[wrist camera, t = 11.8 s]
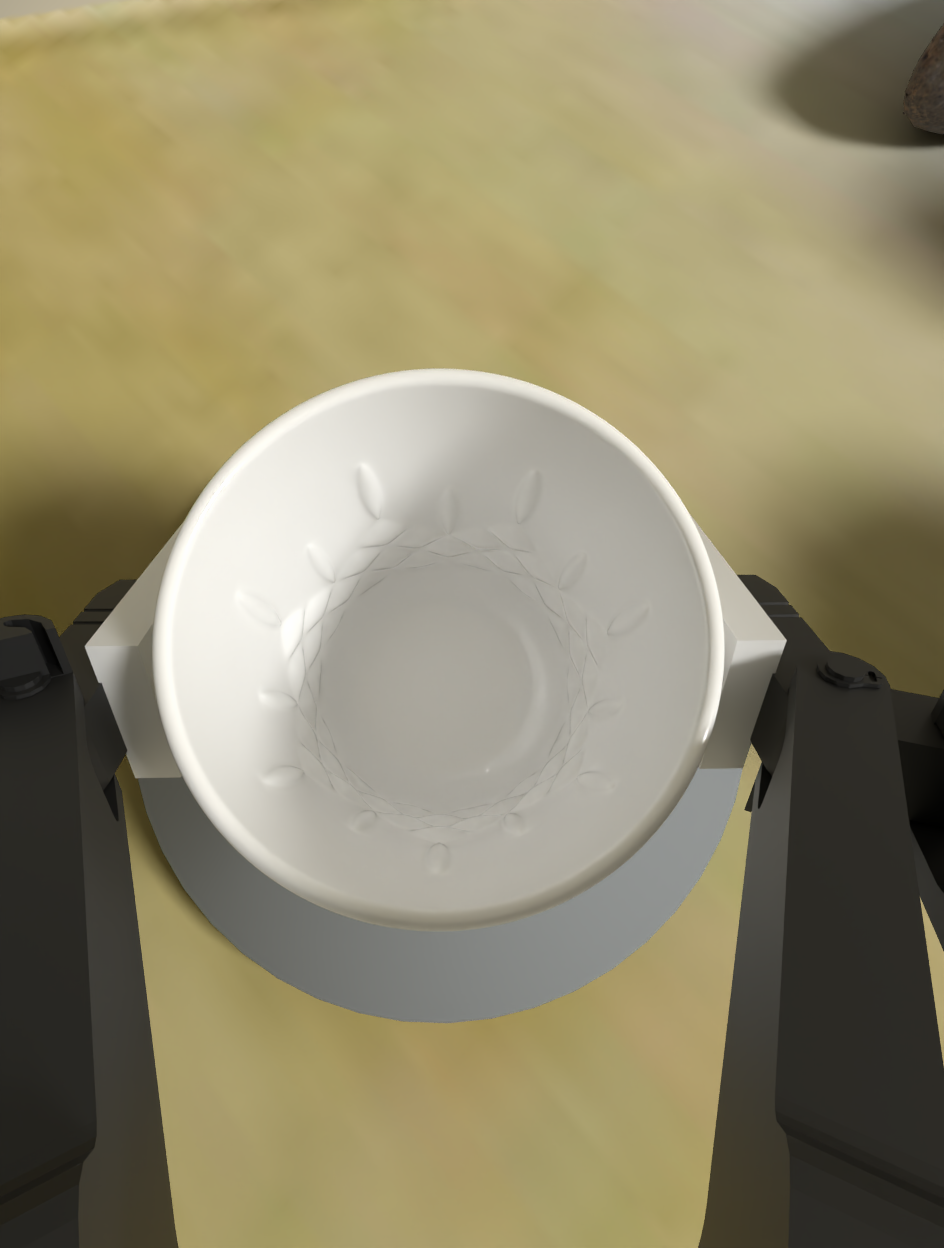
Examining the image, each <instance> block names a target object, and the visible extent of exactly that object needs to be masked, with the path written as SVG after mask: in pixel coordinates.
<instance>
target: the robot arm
mask: <svg viewBox="0 0 944 1248" xmlns="http://www.w3.org/2000/svg"><path fill="white" fill-rule="evenodd" d="M690 516H691V515H690ZM691 518H692V516H691ZM692 520H693V522H694V524H695V526H696V528H697V530H698V532H699V534H700V536H701V539H702V541H703V543H704V546H705V548H706V551H707V554H708V556H709V559H710V562H711V565H712V569H713V572H714V575H715V579H716V583H717V587H718V592H719V597H720V602H721V608H722V616H723V625H724V644H725V654H724V673H723V683H722V690H721V696H720V702H719V707H718V711H717V715H716V719H715V723H714V727H713V730H712V733H711V736H710V739H709V742H708V745H707V748H706V750H705V753H704V755H703V758H702V760H701V762H700V764H699V768H700V769H725V768H743V766H744V763H745V760H746V757H747V754H748V751H749V748H750V745H751V743H752V744H753V746H754V748H755V750H756V751H757V753H758V755H759V757H760V759H761V760H762V763H761V766H760V769H759V771H758V774H757V777H756V780H755V782H754V785H753V788H752V791H751V793H750V796H749V799H748V801H747V804H746V807H745V810H746V811H749V812H751V811H752V814H751V823H750V832H749V841H748V849H747V858H746V867H745V876H744V884H743V893H742V902H741V911H740V919H739V928H738V937H737V945H736V954H735V963H734V972H733V980H732V989H731V998H730V1007H729V1015H728V1024H727V1033H726V1042H725V1050H724V1059H723V1068H722V1077H721V1085H720V1094H719V1103H718V1112H717V1120H716V1129H715V1138H714V1147H713V1155H712V1164H711V1173H710V1181H709V1190H708V1199H707V1207H706V1214H705V1220H704V1225H703V1230H702V1235H701V1239H700V1243H699V1246H698V1248H944V1066H943V1059H942V1052H941V1045H940V1038H939V1031H938V1023H937V1016H936V1009H935V1002H934V995H933V988H932V981H931V974H930V967H929V960H928V952H927V945H926V938H925V931H924V924H923V917H922V910H921V903H920V898H921V900H922V902H923V904H924V907H925V909H926V911H927V914H928V916H929V918H930V921H931V923H932V925H933V927H934V930H935V932H936V934H937V937H938V939H939V941H940V944H941V946H942V948H943V951H944V690H943V692H942V694H941V696H940V698H935V697H930V696H925V695H919V694H914V693H908V692H903V691H898V690H894V689H890V685H889V683H888V681H887V679H886V677H885V676H884V675H883V674H882V673H881V672H880V671H878V670H877V669H876V668H875V667H874V666H872V665H870V664H868V663H866V662H865V661H863V660H861V659H859V658H856V657H853V656H850V655H847V654H844V653H839V652H832V651H829V650H828V648H827V647H826V646H825V645H824V644H823V642H822V641H821V640H820V639H819V638H818V637H817V635H816V634H815V633H814V632H813V631H812V629H811V628H810V627H809V626H808V625H807V624H806V622H805V621H804V620H803V619H802V618H801V617H799V614H798V613H797V612H796V610H795V609H794V608H793V607H792V606H791V605H789V604H788V603H789V602H788V601H787V600H786V599H785V597H784V596H783V595H782V594H781V593H780V592H779V590H778V589H777V588H776V587H774V586H773V585H771V584H769V583H768V582H766V581H765V580H763V579H761V578H760V577H758V576H756V575H736V574H735V572H734V571H733V570H732V568H731V567H730V566H729V564H728V563H727V562H726V561H725V559H724V558H723V557H722V555H721V554H720V553H719V551H718V550H717V549H716V548H715V546H714V545H713V544H712V542H711V541H710V540H709V538H708V537H707V536H706V534H705V533H704V532H703V531H702V529H701V528H700V527H699V525H698V524H697V523H696V521H695V520H694V519H693V518H692ZM182 524H183V523H182ZM182 524H181V525H180V527H179V528H178V529H177V530H176V532H175V533H174V534H173V535H172V537H171V538H170V539H169V541H168V542H167V543H166V544H165V546H164V547H163V548H162V549H161V551H160V552H159V553H158V554H157V556H156V557H155V558H154V559H153V561H152V562H151V563H150V564H149V566H148V567H147V568H146V570H145V571H144V572H143V573H142V575H141V576H140V577H139V578H138V580H119V581H117V582H115V583H114V584H112V585H110V586H109V587H107V588H106V589H104V590H102V591H101V592H99V593H97V595H96V596H95V597H94V598H93V599H92V600H91V601H90V603H89V604H88V605H87V606H86V607H85V608H84V612H81V613H80V614H79V615H78V616H77V618H76V619H75V620H74V621H73V625H70V626H69V627H68V628H67V629H66V630H65V631H64V633H63V634H62V635H61V636H60V637H59V636H58V634H57V631H56V629H55V627H54V625H53V623H52V621H51V620H49V619H47V618H45V617H42V616H37V615H17V616H10V617H4V618H0V1248H179V1247H178V1243H177V1237H176V1230H175V1223H174V1215H173V1207H172V1198H171V1190H170V1182H169V1174H168V1166H167V1158H166V1149H165V1141H164V1133H163V1125H162V1117H161V1109H160V1100H159V1092H158V1084H157V1076H156V1068H155V1059H154V1051H153V1043H152V1035H151V1027H150V1019H149V1010H148V1002H147V994H146V986H145V978H144V969H143V961H142V953H141V945H140V937H139V929H138V920H137V912H136V904H135V896H134V888H133V879H132V871H131V863H130V855H129V847H128V839H127V830H126V822H125V814H124V806H123V798H122V790H121V788H120V786H119V783H118V781H117V778H116V776H115V772H116V770H117V768H118V767H119V765H120V763H121V761H122V760H123V758H124V756H125V754H126V755H127V758H128V760H129V763H130V766H131V768H132V771H133V773H134V776H135V778H177V777H181V776H182V775H181V773H180V771H179V769H178V767H177V765H176V762H175V760H174V758H173V755H172V753H171V750H170V748H169V745H168V742H167V739H166V736H165V733H164V730H163V726H162V723H161V719H160V715H159V711H158V706H157V701H156V695H155V688H154V680H153V668H152V633H153V622H154V613H155V607H156V601H157V596H158V591H159V587H160V583H161V579H162V575H163V572H164V569H165V565H166V562H167V559H168V557H169V554H170V551H171V549H172V546H173V544H174V541H175V539H176V537H177V535H178V532H179V530H180V528H181V526H182ZM919 895H920V896H919Z"/></svg>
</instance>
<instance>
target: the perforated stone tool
mask: <svg viewBox="0 0 944 1248" xmlns="http://www.w3.org/2000/svg"><path fill="white" fill-rule="evenodd" d="M903 114H906V115H907V116H908V118H909V119H910V121H911V123H912V125H913V126H915V127H917V128H921V129H923V130H926V131H931V132H934V133H938V134H944V24H943V26H942V27H941V28H940V29H939V31H938V32H937V34H936V35H935V36H934V38H933V39H932V41H931V42H930V44H929V45H928V47H927V48H926V49H925V51H924V53H923V54H922V56H921V58H920V59H919V61H918V63H917V65H916V67H915V69H914V70H913V73H912V76H911V78H910V80H909V84H908V86H907V88H906V90H905V96H904V112H903Z"/></svg>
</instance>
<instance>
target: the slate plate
mask: <svg viewBox="0 0 944 1248" xmlns="http://www.w3.org/2000/svg"><path fill="white" fill-rule="evenodd" d="M741 773H742V768H725V769H700V768H699V767H698V769H697V771H696V773H695V775H694V777H693V779H692V781H691V782H690V784H689V786H688V788H687V789H686V791H685V793H684V794H683V796H682V798H681V799H680V801H679V802H678V804H677V805H676V807H675V808H674V810H673V811H672V812H671V814H670V815H669V816H668V818H667V819H666V820H665V822H664V823H663V824H662V825H661V827H660V828H659V829H658V830H657V831H656V833H655V834H654V835H653V836H652V837H651V838H650V839H649V840H648V841H647V842H646V843H645V845H644V846H643V847H642V848H641V849H640V850H638V851H637V852H636V853H635V854H634V855H633V856H632V857H631V858H630V859H629V860H628V861H626V862H625V863H624V864H623V865H622V866H620V867H619V868H618V869H617V870H615V871H614V872H613V873H612V874H610V875H609V876H607V877H606V878H605V879H603V880H602V881H600V882H599V883H597V884H596V885H594V886H593V887H591V888H589V889H588V890H586V891H584V892H583V893H581V894H579V895H577V896H576V897H574V898H572V899H570V900H568V901H566V902H564V903H562V904H560V905H557V906H555V907H553V908H551V909H548V910H546V911H543V912H541V913H538V914H535V915H532V916H529V917H526V918H523V919H520V920H516V921H513V922H509V923H505V924H501V925H496V926H491V927H485V928H479V929H471V930H461V931H415V930H405V929H397V928H390V927H384V926H379V925H374V924H370V923H366V922H362V921H359V920H355V919H352V918H349V917H345V916H343V915H340V914H337V913H334V912H332V911H329V910H327V909H324V908H322V907H320V906H317V905H315V904H313V903H311V902H309V901H307V900H305V899H303V898H301V897H299V896H298V895H296V894H294V893H292V892H291V891H289V890H287V889H286V888H284V887H282V886H281V885H279V884H278V883H276V882H275V881H273V880H272V879H270V878H269V877H268V876H266V875H265V874H264V873H262V872H261V871H260V870H258V869H257V868H256V867H255V866H253V865H252V864H251V863H250V862H249V861H248V860H246V859H245V858H244V857H243V856H242V855H241V854H240V853H239V852H238V851H237V850H236V849H235V848H234V847H233V846H232V845H231V844H230V843H229V842H228V841H227V840H226V839H225V838H224V837H223V836H222V834H221V833H220V832H219V831H218V830H217V829H216V827H215V826H214V825H213V824H212V822H211V821H210V820H209V819H208V817H207V816H206V814H205V813H204V812H203V810H202V809H201V807H200V806H199V804H198V803H197V801H196V800H195V798H194V797H193V795H192V793H191V792H190V790H189V788H188V786H187V785H186V783H185V781H184V779H183V777H182V776H181V777H177V778H138V781H139V785H140V789H141V793H142V797H143V801H144V805H145V809H146V813H147V815H148V818H149V820H150V822H151V825H152V827H153V830H154V832H155V835H156V837H157V840H158V842H159V845H160V847H161V850H162V852H163V854H164V855H165V857H166V859H167V860H168V862H169V864H170V866H171V867H172V869H173V871H174V873H175V874H176V876H177V878H178V879H179V881H180V883H181V885H182V886H183V888H184V890H185V891H186V892H187V893H188V895H189V896H190V897H191V898H192V900H193V901H194V902H195V904H196V905H197V906H198V907H199V909H200V910H201V911H202V912H203V914H204V915H205V916H206V918H207V919H208V920H209V921H210V923H211V924H212V925H213V926H214V927H216V928H217V929H218V930H219V931H220V932H221V933H222V934H223V935H224V936H225V937H226V938H227V939H228V940H229V941H230V942H231V943H232V944H233V945H234V946H235V947H237V948H238V949H239V950H240V951H241V952H242V953H243V954H244V955H246V956H247V957H249V958H250V959H251V960H253V961H254V962H256V963H257V964H258V965H260V966H261V967H263V968H264V969H265V970H267V971H268V972H270V973H271V974H272V975H274V976H275V977H277V978H278V979H280V980H282V981H284V982H286V983H288V984H290V985H292V986H294V987H296V988H297V989H299V990H301V991H303V992H305V993H307V994H309V995H311V996H313V997H315V998H317V999H320V1000H323V1001H325V1002H328V1003H331V1004H334V1005H337V1006H340V1007H343V1008H346V1009H349V1010H352V1011H355V1012H358V1013H361V1014H367V1015H372V1016H377V1017H383V1018H388V1019H393V1020H399V1021H408V1022H433V1023H453V1022H463V1021H472V1020H482V1019H492V1018H495V1017H499V1016H503V1015H507V1014H511V1013H515V1012H519V1011H523V1010H527V1009H531V1008H535V1007H537V1006H540V1005H542V1004H545V1003H547V1002H549V1001H552V1000H554V999H557V998H559V997H562V996H564V995H567V994H569V993H571V992H574V991H576V990H578V989H579V988H581V987H583V986H584V985H586V984H588V983H590V982H591V981H593V980H595V979H596V978H598V977H600V976H601V975H603V974H605V973H607V972H608V971H610V970H612V969H613V968H614V967H616V966H617V965H618V964H619V963H621V962H622V961H623V960H625V959H626V958H627V957H628V956H630V955H631V954H632V953H633V952H635V951H636V950H637V949H638V948H640V947H641V946H642V945H643V944H645V943H646V942H647V941H648V940H649V939H650V938H651V937H652V936H653V935H654V934H655V933H656V932H657V931H658V930H659V928H660V927H661V926H662V925H663V924H664V923H665V922H666V921H667V920H668V919H669V918H670V917H671V916H672V915H673V914H674V913H675V912H676V910H677V909H678V908H679V906H680V905H681V904H682V902H683V901H684V899H685V898H686V897H687V895H688V894H689V893H690V891H691V890H692V888H693V887H694V886H695V884H696V883H697V881H698V880H699V879H700V877H701V876H702V874H703V872H704V870H705V868H706V866H707V864H708V862H709V861H710V859H711V857H712V855H713V853H714V851H715V849H716V848H717V846H718V844H719V842H720V840H721V837H722V835H723V832H724V829H725V827H726V824H727V821H728V819H729V816H730V813H731V811H732V808H733V805H734V803H735V799H736V795H737V790H738V786H739V782H740V777H741Z"/></svg>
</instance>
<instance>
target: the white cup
mask: <svg viewBox="0 0 944 1248" xmlns="http://www.w3.org/2000/svg"><path fill="white" fill-rule="evenodd" d="M724 654H725V644H724V625H723V616H722V608H721V602H720V597H719V592H718V587H717V583H716V579H715V575H714V572H713V569H712V565H711V562H710V559H709V556H708V554H707V551H706V548H705V546H704V543H703V541H702V539H701V536H700V534H699V532H698V530H697V528H696V526H695V524H694V522H693V520H692V518H691V516H690V514H689V512H688V511H687V509H686V507H685V506H684V504H683V502H682V501H681V499H680V498H679V496H678V495H677V493H676V492H675V490H674V489H673V487H672V486H671V485H670V483H669V482H668V481H667V479H666V478H665V477H664V476H663V474H662V473H661V472H660V471H659V469H658V468H657V467H656V466H655V465H654V464H653V463H652V462H651V460H650V459H649V458H648V457H647V456H646V455H645V454H644V453H643V452H642V451H641V450H640V449H639V448H638V447H637V446H636V445H635V444H633V443H632V442H631V441H630V440H629V439H628V438H627V437H626V436H624V435H623V434H622V433H621V432H619V431H618V430H617V429H616V428H614V427H613V426H612V425H610V424H609V423H608V422H606V421H605V420H603V419H602V418H600V417H599V416H597V415H596V414H594V413H593V412H591V411H589V410H588V409H586V408H584V407H583V406H581V405H579V404H577V403H575V402H573V401H572V400H570V399H568V398H565V397H563V396H561V395H559V394H557V393H555V392H552V391H550V390H547V389H545V388H542V387H540V386H537V385H534V384H531V383H528V382H525V381H522V380H518V379H515V378H511V377H507V376H503V375H498V374H493V373H487V372H481V371H473V370H463V369H415V370H405V371H397V372H391V373H385V374H380V375H376V376H371V377H367V378H364V379H360V380H356V381H353V382H350V383H347V384H344V385H341V386H338V387H336V388H333V389H331V390H328V391H326V392H323V393H321V394H319V395H317V396H315V397H313V398H310V399H308V400H306V401H305V402H303V403H301V404H299V405H297V406H295V407H294V408H292V409H290V410H288V411H287V412H285V413H284V414H282V415H281V416H279V417H278V418H276V419H275V420H273V421H272V422H270V423H269V424H268V425H266V426H265V427H264V428H262V429H261V430H260V431H258V432H257V433H256V434H255V435H253V436H252V437H251V438H250V439H249V440H248V441H247V442H245V443H244V444H243V445H242V446H241V447H240V448H239V449H238V450H237V451H236V452H235V453H234V454H233V455H232V456H231V457H230V458H229V459H228V460H227V461H226V462H225V463H224V464H223V466H222V467H221V468H220V469H219V470H218V471H217V473H216V474H215V475H214V476H213V478H212V479H211V480H210V481H209V483H208V484H207V485H206V487H205V488H204V490H203V491H202V492H201V494H200V495H199V497H198V498H197V500H196V501H195V503H194V505H193V506H192V508H191V510H190V511H189V513H188V515H187V517H186V519H185V520H184V522H183V524H182V526H181V528H180V530H179V532H178V535H177V537H176V539H175V541H174V544H173V546H172V549H171V551H170V554H169V557H168V559H167V562H166V565H165V569H164V572H163V575H162V579H161V583H160V587H159V591H158V596H157V601H156V607H155V613H154V622H153V633H152V668H153V680H154V688H155V695H156V701H157V706H158V711H159V715H160V719H161V723H162V726H163V730H164V733H165V736H166V739H167V742H168V745H169V748H170V750H171V753H172V755H173V758H174V760H175V762H176V765H177V767H178V769H179V771H180V773H181V775H182V777H183V779H184V781H185V783H186V785H187V786H188V788H189V790H190V792H191V793H192V795H193V797H194V798H195V800H196V801H197V803H198V804H199V806H200V807H201V809H202V810H203V812H204V813H205V814H206V816H207V817H208V819H209V820H210V821H211V822H212V824H213V825H214V826H215V827H216V829H217V830H218V831H219V832H220V833H221V834H222V836H223V837H224V838H225V839H226V840H227V841H228V842H229V843H230V844H231V845H232V846H233V847H234V848H235V849H236V850H237V851H238V852H239V853H240V854H241V855H242V856H243V857H244V858H245V859H246V860H248V861H249V862H250V863H251V864H252V865H253V866H255V867H256V868H257V869H258V870H260V871H261V872H262V873H264V874H265V875H266V876H268V877H269V878H270V879H272V880H273V881H275V882H276V883H278V884H279V885H281V886H282V887H284V888H286V889H287V890H289V891H291V892H292V893H294V894H296V895H298V896H299V897H301V898H303V899H305V900H307V901H309V902H311V903H313V904H315V905H317V906H320V907H322V908H324V909H327V910H329V911H332V912H334V913H337V914H340V915H343V916H345V917H349V918H352V919H355V920H359V921H362V922H366V923H370V924H374V925H379V926H384V927H390V928H397V929H405V930H415V931H461V930H471V929H479V928H485V927H491V926H496V925H501V924H505V923H509V922H513V921H516V920H520V919H523V918H526V917H529V916H532V915H535V914H538V913H541V912H543V911H546V910H548V909H551V908H553V907H555V906H557V905H560V904H562V903H564V902H566V901H568V900H570V899H572V898H574V897H576V896H577V895H579V894H581V893H583V892H584V891H586V890H588V889H589V888H591V887H593V886H594V885H596V884H597V883H599V882H600V881H602V880H603V879H605V878H606V877H607V876H609V875H610V874H612V873H613V872H614V871H615V870H617V869H618V868H619V867H620V866H622V865H623V864H624V863H625V862H626V861H628V860H629V859H630V858H631V857H632V856H633V855H634V854H635V853H636V852H637V851H638V850H640V849H641V848H642V847H643V846H644V845H645V843H646V842H647V841H648V840H649V839H650V838H651V837H652V836H653V835H654V834H655V833H656V831H657V830H658V829H659V828H660V827H661V825H662V824H663V823H664V822H665V820H666V819H667V818H668V816H669V815H670V814H671V812H672V811H673V810H674V808H675V807H676V805H677V804H678V802H679V801H680V799H681V798H682V796H683V794H684V793H685V791H686V789H687V788H688V786H689V784H690V782H691V781H692V779H693V777H694V775H695V773H696V771H697V769H698V767H699V764H700V762H701V760H702V758H703V755H704V753H705V750H706V748H707V745H708V742H709V739H710V736H711V733H712V730H713V727H714V723H715V719H716V715H717V711H718V707H719V702H720V696H721V690H722V683H723V673H724Z"/></svg>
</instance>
